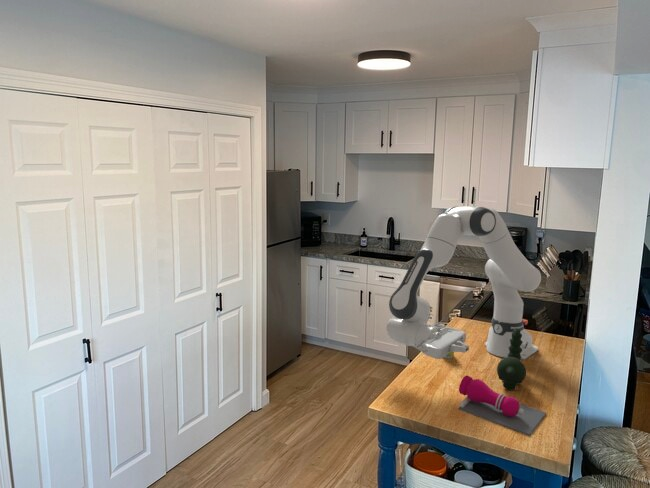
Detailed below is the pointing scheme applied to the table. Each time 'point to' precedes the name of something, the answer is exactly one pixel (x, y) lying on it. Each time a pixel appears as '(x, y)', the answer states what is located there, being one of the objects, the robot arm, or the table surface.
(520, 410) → the magenta bowling pin
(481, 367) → the table surface
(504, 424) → the grey rectangular board
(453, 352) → the supplement bottle
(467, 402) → the grey stop strip
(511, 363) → the toy figurine
